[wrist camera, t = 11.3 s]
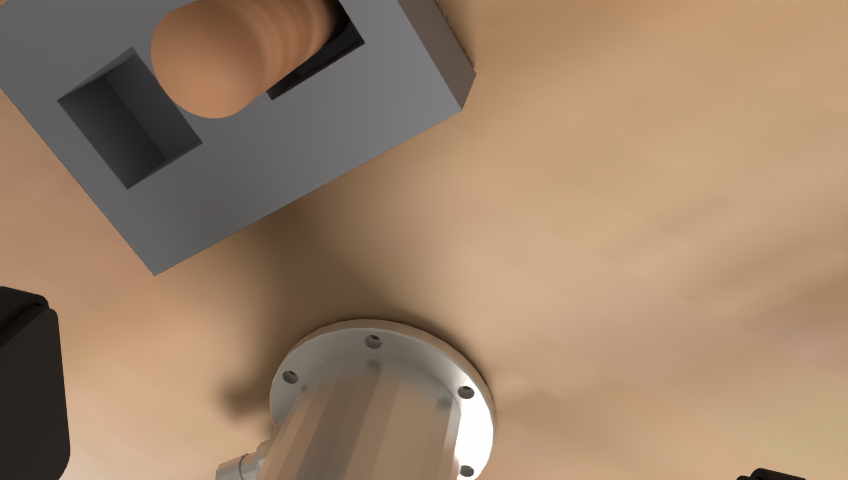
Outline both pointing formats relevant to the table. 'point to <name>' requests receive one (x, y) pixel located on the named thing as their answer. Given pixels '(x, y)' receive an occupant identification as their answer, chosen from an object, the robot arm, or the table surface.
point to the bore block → (219, 137)
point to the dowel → (237, 48)
